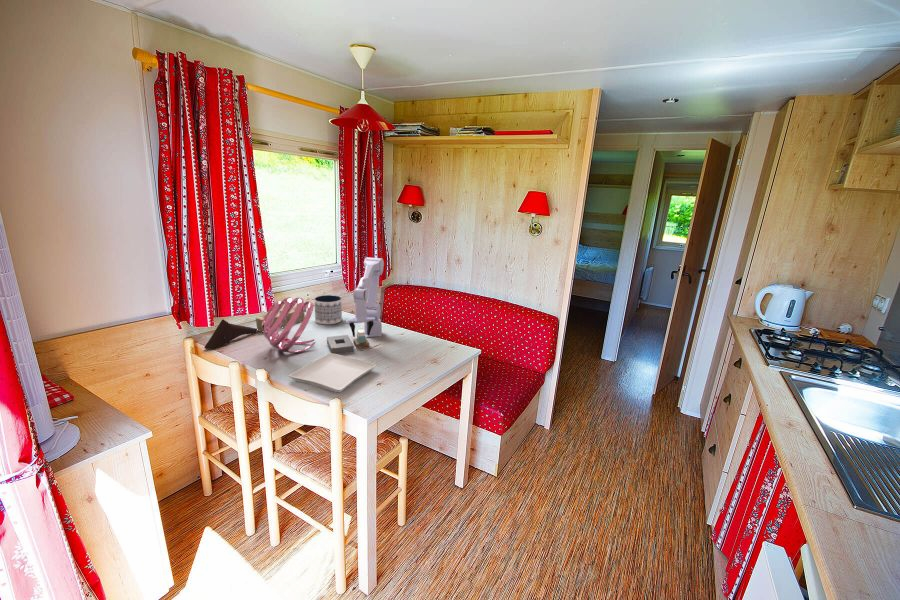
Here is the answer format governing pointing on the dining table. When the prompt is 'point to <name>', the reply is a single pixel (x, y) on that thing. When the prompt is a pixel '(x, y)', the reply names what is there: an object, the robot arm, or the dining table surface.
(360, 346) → the plug holster
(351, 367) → the square plate
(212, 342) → the holster
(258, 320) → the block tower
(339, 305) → the planter
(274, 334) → the spiral basket
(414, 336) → the dining table surface
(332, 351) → the port block
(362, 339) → the plug
